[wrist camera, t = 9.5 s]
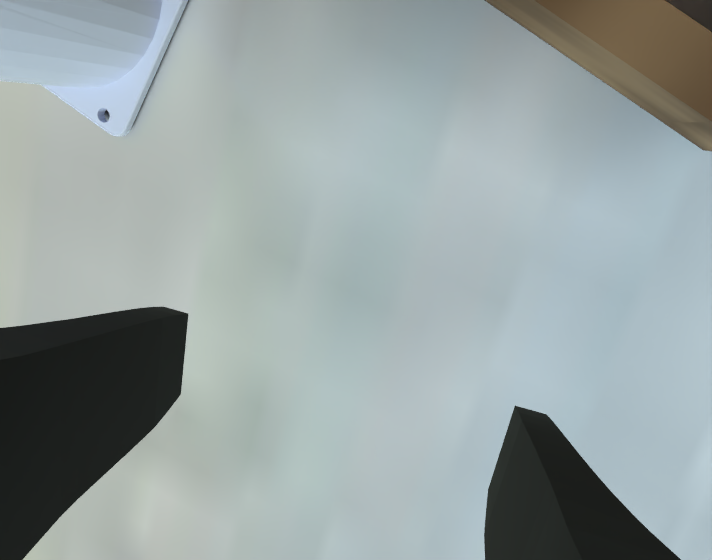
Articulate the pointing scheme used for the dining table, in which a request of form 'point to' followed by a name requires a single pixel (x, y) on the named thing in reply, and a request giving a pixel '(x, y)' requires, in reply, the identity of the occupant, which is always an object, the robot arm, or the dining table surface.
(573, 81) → the dining table surface
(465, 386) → the dining table surface
